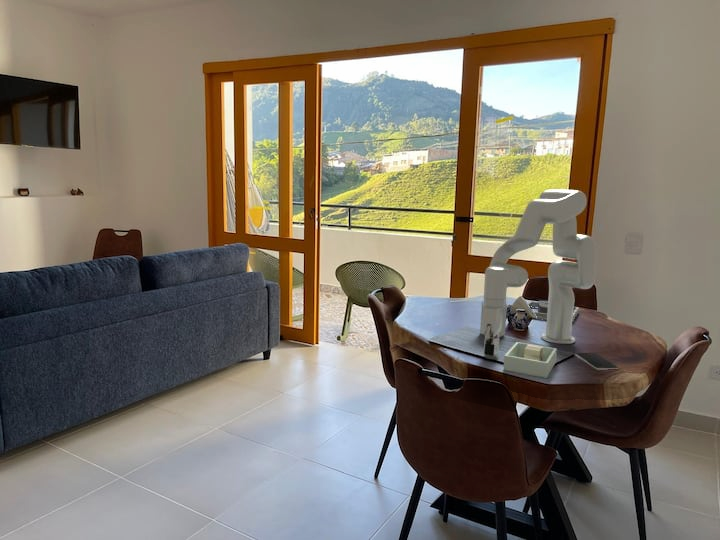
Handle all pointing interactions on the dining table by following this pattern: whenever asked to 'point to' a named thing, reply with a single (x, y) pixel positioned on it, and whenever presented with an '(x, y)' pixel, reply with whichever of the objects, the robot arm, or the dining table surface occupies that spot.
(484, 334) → the jar
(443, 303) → the dining table surface
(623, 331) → the dining table surface
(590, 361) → the smartphone
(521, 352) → the tote
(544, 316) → the speaker stand
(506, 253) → the robot arm
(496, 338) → the aluminium cylinder
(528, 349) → the maple cube
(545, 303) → the streaming box
